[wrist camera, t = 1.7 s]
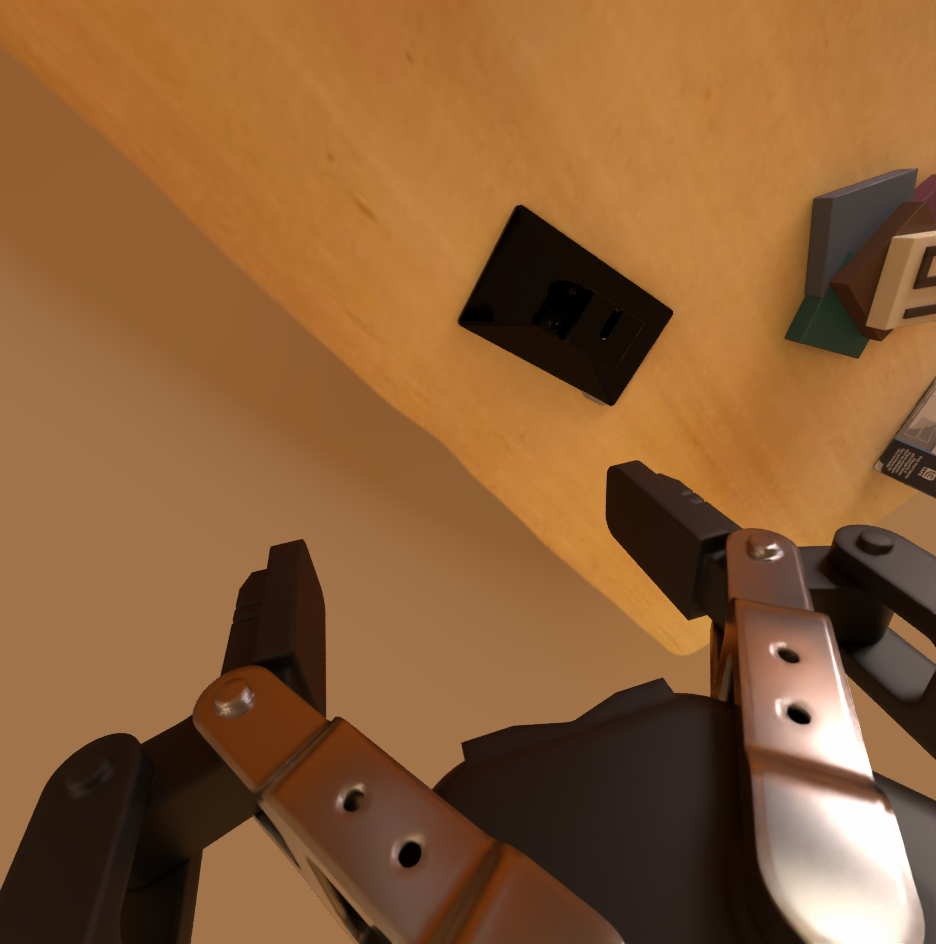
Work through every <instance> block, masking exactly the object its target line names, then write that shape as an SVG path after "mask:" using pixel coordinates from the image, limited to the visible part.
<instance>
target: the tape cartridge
mask: <svg viewBox="0 0 936 944" xmlns="http://www.w3.org/2000/svg"><path fill="white" fill-rule="evenodd" d="M873 469H875V470H877V471H879V472H881V473H883V474H885V475H887V476H889V477H892V478H894V479H896V480H898V481H900V482H902V483H904V484H906V485H908V486H910V487H912V488H914V489H917V490H919V491H921V492H923V493H925V494H927V495H929V496H931V497H933V498H936V379H935V381H934V382H933V384H932V385H931V387H930V388H929V390H928V391H927V392H926V394H925V395H924V397H923V398H922V399H921V401H920V402H919V404H918V405H917V407H916V408H915V409H914V411H913V412H912V414H911V415H910V417H909V418H908V419H907V421H906V422H905V424H904V425H903V427H902V428H901V429H900V431H899V432H898V434H897V435H896V437H895V438H894V439H893V441H892V442H891V444H890V445H889V447H888V448H887V449H886V451H885V452H884V454H883V455H882V456H881V458H880V459H879V460H878V462H877V463H876V464H875V466H874V467H873Z"/></svg>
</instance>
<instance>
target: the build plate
mask: <svg viewBox="0 0 936 944" xmlns="http://www.w3.org/2000/svg"><path fill="white" fill-rule="evenodd" d="M672 315H673V311H672V310H671V309H670V308H668V307H667V306H665V305H664V304H663V303H661V302H660V301H658V300H657V299H655V298H654V297H653V296H651V295H650V294H648V293H647V292H645V291H644V290H643V289H641V288H640V287H638V286H637V285H635V284H634V283H633V282H631V281H630V280H628V279H627V278H625V277H624V276H623V275H621V274H620V273H618V272H617V271H615V270H614V269H613V268H611V267H610V266H608V265H607V264H605V263H604V262H603V261H601V260H600V259H598V258H597V257H596V256H594V255H593V254H591V253H590V252H588V251H587V250H586V249H584V248H583V247H581V246H580V245H578V244H577V243H576V242H574V241H573V240H571V239H570V238H568V237H567V236H566V235H564V234H563V233H561V232H560V231H558V230H557V229H556V228H554V227H553V226H551V225H550V224H548V223H547V222H546V221H544V220H543V219H541V218H540V217H538V216H537V215H536V214H534V213H533V212H531V211H530V210H528V209H527V208H526V207H524V206H523V205H517V206H516V207H515V208H514V210H513V212H512V214H511V216H510V218H509V220H508V222H507V224H506V226H505V228H504V230H503V232H502V234H501V236H500V237H499V239H498V241H497V243H496V245H495V247H494V249H493V251H492V253H491V255H490V257H489V259H488V261H487V263H486V265H485V267H484V269H483V271H482V273H481V275H480V277H479V279H478V281H477V283H476V285H475V287H474V289H473V291H472V293H471V295H470V296H469V298H468V300H467V302H466V304H465V306H464V308H463V310H462V312H461V314H460V316H459V318H458V324H459V325H460V326H462V327H464V328H466V329H467V330H469V331H471V332H473V333H475V334H477V335H479V336H481V337H482V338H484V339H486V340H488V341H490V342H492V343H494V344H496V345H497V346H499V347H501V348H503V349H505V350H507V351H509V352H510V353H512V354H514V355H516V356H518V357H520V358H522V359H524V360H525V361H527V362H529V363H531V364H533V365H535V366H537V367H539V368H540V369H542V370H544V371H546V372H548V373H550V374H552V375H553V376H555V377H557V378H559V379H561V380H563V381H565V382H567V383H568V384H570V385H572V386H574V387H576V388H578V389H580V390H581V391H582V393H583V395H584V396H585V397H586V398H588V399H590V400H592V401H594V402H596V403H598V404H600V405H606V404H608V405H610V406H613V405H614V404H615V403H616V401H617V400H618V398H619V397H620V395H621V393H622V392H623V390H624V389H625V387H626V386H627V384H628V383H629V381H630V380H631V378H632V377H633V375H634V373H635V372H636V370H637V369H638V367H639V366H640V364H641V363H642V361H643V360H644V358H645V357H646V355H647V353H648V352H649V350H650V349H651V347H652V346H653V344H654V343H655V341H656V340H657V338H658V337H659V335H660V333H661V332H662V330H663V329H664V327H665V326H666V324H667V323H668V321H669V320H670V318H671V317H672Z"/></svg>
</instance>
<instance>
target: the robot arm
mask: <svg viewBox="0 0 936 944" xmlns="http://www.w3.org/2000/svg"><path fill="white" fill-rule="evenodd" d="M606 521H607V525H608V528H609V530H610V532H611V534H612V536H613V537H614V538H615V539H616V540H617V541H618V543H619V544H620V545H621V546H622V547H623V548H624V549H625V550H626V551H627V553H628V554H629V555H630V556H631V557H632V558H633V559H634V560H635V562H636V563H637V564H638V565H639V566H640V567H641V568H642V569H643V571H644V572H645V573H646V574H647V575H648V576H649V577H650V578H651V579H652V581H653V582H654V583H655V584H656V585H657V586H658V587H659V588H660V590H661V591H662V592H663V593H664V594H665V595H666V596H667V597H668V598H669V600H670V601H671V602H672V603H673V604H674V605H675V606H676V607H677V609H678V610H679V611H680V612H681V613H682V614H683V615H684V616H685V617H686V619H687V620H692V619H695V618H698V617H702V616H705V615H708V616H709V617H710V618H711V620H712V623H711V629H710V668H711V669H710V671H711V672H710V674H711V676H710V678H711V679H710V681H711V694H710V697H707V696H703V695H696V694H688V693H674V692H673V691H672V689H671V688H670V687H669V686H668V684H667V683H666V681H665V680H664V679H663V678H660V679H657V680H653V681H650V682H647V683H645V684H641V685H638V686H635V687H632V688H629V689H626V690H623V691H619V692H617V693H615V694H613V695H612V696H610V697H609V698H607V699H606V700H604V701H603V702H602V703H600V704H598V705H597V706H595V707H594V708H593V709H591V710H589V711H588V712H586V713H585V714H583V715H582V716H580V717H579V718H577V719H576V720H574V721H571V722H566V723H549V724H535V725H518V726H511V727H508V728H505V729H502V730H499V731H496V732H493V733H490V734H487V735H484V736H481V737H478V738H474V739H471V740H468V741H465V742H462V743H461V744H462V749H463V754H464V759H465V761H463V762H462V763H461V764H459V765H457V766H456V767H455V768H453V769H452V770H451V771H450V772H449V773H447V774H446V775H445V776H444V777H443V778H442V779H441V780H440V781H439V782H438V783H437V784H436V785H435V787H434V788H433V789H430V788H429V787H428V786H427V785H425V784H424V783H423V782H422V781H420V780H419V779H418V778H417V777H416V776H414V775H413V774H412V773H410V772H409V771H408V770H407V769H406V768H404V767H403V766H402V765H401V764H399V763H398V762H397V761H396V760H395V759H393V758H392V757H391V756H389V755H388V754H387V753H386V752H385V751H383V750H382V749H381V748H380V747H379V746H377V745H376V744H375V743H374V742H372V741H371V740H370V739H369V738H367V737H366V736H365V735H364V734H362V733H361V732H360V731H359V730H358V729H356V728H355V727H354V726H353V725H351V724H350V723H349V722H348V721H346V720H345V719H343V718H341V717H335V718H334V719H333V720H332V721H329V720H327V719H326V643H325V641H326V640H325V639H326V638H325V604H324V598H323V594H322V590H321V586H320V583H319V580H318V577H317V575H316V571H315V569H314V566H313V563H312V560H311V557H310V554H309V551H308V548H307V546H306V543H305V541H304V540H303V539H300V540H296V541H292V542H288V543H283V544H279V545H275V546H272V547H271V548H270V552H269V559H268V565H267V569H265V570H260V571H256V572H252V573H251V575H250V576H249V577H248V579H247V580H246V581H245V583H244V584H243V585H242V587H241V588H240V590H239V594H238V599H237V603H236V610H235V612H234V617H233V624H232V626H231V631H230V635H229V640H228V644H227V649H226V653H225V658H224V662H223V667H222V671H221V676H220V677H219V678H217V679H216V680H215V681H213V682H212V684H210V685H209V686H208V687H207V688H206V689H205V690H204V691H203V693H202V694H201V695H200V697H199V698H198V700H197V702H196V704H195V707H194V710H193V714H192V715H191V716H189V717H188V718H187V719H185V720H184V721H182V722H180V723H179V724H177V725H175V726H173V727H172V728H169V729H168V730H166V731H164V732H162V733H160V734H159V735H157V736H155V737H153V738H151V739H150V740H148V741H146V742H144V743H142V744H140V743H139V741H138V740H137V739H136V738H135V737H134V736H132V735H130V734H126V733H116V734H111V735H107V736H104V737H102V738H99V739H96V740H94V741H93V742H91V743H89V744H87V745H85V746H84V747H83V748H81V749H79V750H78V751H77V752H75V753H74V754H72V756H70V757H69V758H68V759H67V760H66V761H65V762H64V763H63V764H62V765H61V766H60V767H59V768H58V769H57V770H56V771H55V772H54V774H53V775H52V776H51V778H50V779H49V781H48V782H47V784H46V785H45V787H44V789H43V792H42V794H41V796H40V799H39V801H38V803H37V805H36V808H35V810H34V812H33V815H32V817H31V819H30V822H29V824H28V827H27V829H26V831H25V834H24V836H23V839H22V841H21V843H20V845H19V848H18V850H17V852H16V855H15V857H14V860H13V862H12V864H11V867H10V869H9V871H8V874H7V876H6V878H5V881H4V883H3V885H2V888H1V890H0V944H190V943H191V935H192V928H193V921H194V913H195V905H196V898H197V890H198V883H199V875H200V867H201V860H202V852H203V849H204V848H205V847H207V846H208V845H210V844H211V843H213V842H214V841H216V840H217V839H219V838H220V837H222V836H223V835H225V834H226V833H228V832H229V831H231V830H232V829H234V828H235V827H237V826H238V825H240V824H241V823H243V822H244V821H246V820H247V819H249V818H250V817H253V818H254V819H255V820H256V822H257V823H258V824H259V825H260V826H261V827H262V829H263V830H264V831H265V832H266V833H267V835H268V836H269V837H270V838H271V839H272V841H273V842H274V843H275V844H276V846H277V847H278V848H279V849H280V850H281V852H282V853H283V854H284V855H285V856H286V858H287V859H288V860H289V861H290V862H291V863H292V865H293V866H294V867H295V868H296V869H297V871H298V872H299V873H300V874H301V876H302V877H303V878H304V879H305V880H306V882H307V883H308V884H309V886H310V887H311V888H312V889H313V891H314V892H315V893H316V895H317V897H318V898H319V899H320V901H321V902H322V903H323V905H324V906H325V907H326V909H327V910H328V911H329V913H330V914H331V915H332V916H333V918H334V919H335V920H336V922H337V923H338V924H339V925H340V927H341V928H342V929H343V930H344V931H345V933H346V934H347V935H348V936H349V937H350V938H351V940H352V941H353V942H354V943H355V944H936V801H935V800H933V799H931V798H929V797H927V796H925V795H923V794H921V793H919V792H916V791H914V790H912V789H910V788H908V787H906V786H904V785H902V784H900V783H897V782H895V781H893V780H891V779H889V778H887V777H885V776H883V775H881V774H879V773H876V772H874V771H872V770H871V768H870V764H869V760H868V757H867V753H866V749H865V745H864V742H863V738H862V734H861V731H860V727H859V723H858V719H857V716H856V712H855V708H854V705H853V701H852V697H851V694H850V690H849V686H848V682H847V679H846V675H845V673H846V674H847V675H848V676H849V677H850V678H851V679H852V680H853V681H854V682H855V683H856V684H857V685H858V686H859V687H860V688H861V689H862V690H863V691H864V692H865V693H867V694H868V695H869V696H870V697H871V698H872V699H873V700H874V701H875V702H876V703H877V704H878V705H879V706H880V707H881V708H882V709H883V710H884V711H885V712H886V713H887V714H888V715H890V716H891V717H892V718H893V719H894V720H895V721H896V722H897V723H898V724H899V725H900V726H901V727H902V728H903V729H904V730H905V731H906V732H907V733H908V734H909V735H910V736H912V737H913V738H914V739H915V740H916V741H917V742H918V743H919V744H920V745H921V746H922V747H923V748H924V749H925V750H926V751H927V752H928V753H929V754H930V755H931V756H932V757H934V759H936V664H935V663H933V662H932V661H931V660H929V659H928V658H927V657H926V656H924V655H923V654H922V653H921V652H919V651H918V650H917V649H916V648H914V647H913V646H912V645H911V644H909V643H908V642H906V641H905V640H904V639H903V638H902V637H900V636H899V635H898V634H897V633H895V632H894V631H893V630H892V629H890V628H889V627H888V626H889V623H890V621H891V619H892V616H893V614H894V612H895V613H896V614H898V615H899V616H900V617H902V618H903V619H904V620H906V621H907V622H908V623H910V624H911V625H912V626H913V627H915V628H916V629H917V630H919V631H920V632H921V633H923V634H924V635H925V636H927V637H928V638H929V639H930V640H931V641H932V643H933V644H934V645H935V647H936V557H935V556H934V555H932V554H930V553H929V552H927V551H925V550H924V549H922V548H920V547H919V546H917V545H915V544H914V543H912V542H911V541H909V540H907V539H905V538H904V537H902V536H900V535H898V534H896V533H894V532H892V531H889V530H886V529H883V528H879V527H874V526H869V525H848V526H844V527H842V528H840V529H838V530H837V531H836V533H835V535H834V538H833V542H832V545H831V546H808V547H797V546H796V545H795V544H794V543H793V542H792V541H791V540H789V539H788V538H786V537H784V536H783V535H780V534H778V533H775V532H772V531H769V530H764V529H756V528H747V529H742V528H741V527H740V526H738V525H737V524H736V523H734V522H733V521H732V520H730V519H729V518H728V517H726V516H725V515H724V514H722V513H721V512H720V511H718V510H717V509H716V508H714V507H713V506H712V505H711V504H709V503H708V502H707V501H706V502H704V499H703V498H701V497H700V496H699V495H697V494H696V493H693V491H692V490H691V489H689V488H688V487H687V486H685V485H684V484H683V483H681V482H680V481H679V480H676V479H673V478H671V477H668V476H666V475H663V474H661V473H659V474H656V473H654V472H653V471H652V470H651V469H649V468H648V467H647V466H646V465H644V464H643V463H642V462H640V461H638V460H635V461H631V462H627V463H623V464H618V465H614V466H611V467H609V469H608V471H607V486H606Z"/></svg>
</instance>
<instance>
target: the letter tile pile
mask: <svg viewBox="0 0 936 944" xmlns="http://www.w3.org/2000/svg"><path fill="white" fill-rule="evenodd" d="M917 172H918V169H917V168H916V169H901V170H894V171H891V172H888V173H885V174H882V175H880V176H877V177H874V178H871V179H868V180H865V181H862V182H859V183H856V184H853V185H851V186H848V187H845V188H842V189H839V190H836V191H833V192H830V193H827V194H824V195H821V196H819V197H816V198H814V200H813V211H812V222H811V232H810V243H809V254H808V265H807V275H806V286H805V295H806V296H805V298H804V300H803V302H802V304H801V306H800V308H799V310H798V312H797V314H796V316H795V318H794V320H793V322H792V324H791V326H790V328H789V330H788V332H787V334H786V336H785V339H788V340H792V341H795V342H799V343H802V344H806V345H810V346H813V347H817V348H821V349H824V350H828V351H832V352H835V353H839V354H843V355H846V356H850V357H854V358H859V357H860V355H861V353H862V352H863V350H864V348H865V346H866V345H867V343H868V341H869V340H870V339H872V340H877V341H882V340H883V339H884V338H885V337H886V336H887V335H888V334H889V333H890V332H891V331H892V330H893V329H894V328H899V327H905V326H910V325H916V324H921V323H926V322H932V321H936V174H934V175H931V176H930V177H929V178H928V179H927V180H925V181H924V182H923V183H922V184H921V185H920V186H918V187H917V188H916V189H915V190H914V188H915V182H916V177H917Z"/></svg>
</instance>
